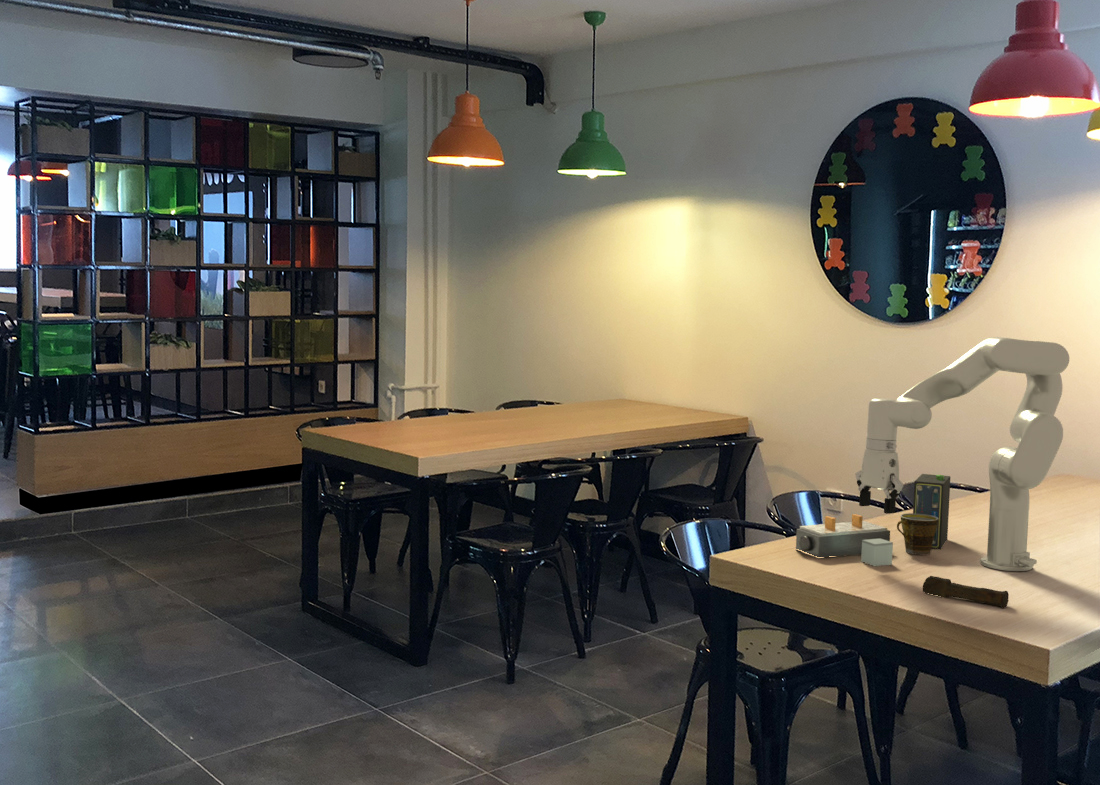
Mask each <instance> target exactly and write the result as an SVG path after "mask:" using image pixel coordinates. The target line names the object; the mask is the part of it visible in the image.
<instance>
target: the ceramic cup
mask: <svg viewBox="0 0 1100 785" xmlns="http://www.w3.org/2000/svg"><path fill="white" fill-rule="evenodd" d="M938 520H939V518H938V517H935V516H932V515H927V514H916V513H913V512H912V513H910V512H909V513H902V514H900V520H899V521H898V522H897V524H896V529H897V531H898V532H899V533H900V534H901V535H902V536H903V539H904V540H903V541H904V547H905V553H907V554H911V555H917V556H918V555H919V556H927V554H928V555H930V554H931V551H932V549H931V548H932V543H933V539H934V535H935V532H936V529H937V525H938ZM900 525H901V528H902V530H901V529H900Z"/></svg>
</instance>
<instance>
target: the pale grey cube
mask: <svg viewBox="0 0 1100 785" xmlns="http://www.w3.org/2000/svg"><path fill="white" fill-rule="evenodd" d="M893 546H894V542H893V541H891V540H890V541H887V540H884V539H880V538H879V539H868V540H862V554H861V556H860V558H861V559H860V560H861V561H862V562H861V561H860V562H861V563H863V562H865V563H864V564H866V563H868V564H870V565H869V566H871V565H873V566H872V567H882V566H889V565H890V566H891V565H893V551H894V550H893V548H894V547H893ZM868 564H867V565H868ZM881 565H882V566H881Z"/></svg>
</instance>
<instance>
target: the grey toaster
mask: <svg viewBox="0 0 1100 785" xmlns="http://www.w3.org/2000/svg"><path fill="white" fill-rule="evenodd" d="M795 538H796V540H795V541H796V542H795V550H796V549H799V550H802V551H804V552H807V553H809V554H812V555H814V556H817V557H829V556H841V557H845V556H844V555H852V556H859V555H861V554H862V540H868V539H879V538H880V539H884V540H887V541H890V542H891V530H888V527H886V526H885V527H884V526H882V525H879V524H875V523H872V522H868V521H865V520H863V515H860V514H856V513H853V514H851V521H848V522H837V520H836V518H835V517H833V516H824V524H823V523H820V524H809V525H799V528H797V529H796V536H795Z"/></svg>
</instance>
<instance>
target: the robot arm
mask: <svg viewBox="0 0 1100 785" xmlns="http://www.w3.org/2000/svg"><path fill="white" fill-rule="evenodd" d="M1069 363H1070V354H1069V351H1068V350H1067V348H1065V347H1064V346H1063V345H1062V344H1059V343H1057V342H1053V341H1052V342H1049V341H1041V340H1040V341H1039V340H1025V339H1016V338H1010V337H1001V336H1000V337H999V336H993V337H988V338H985V339H984V340H982V341H981V342H979V343H978V344H976V345H975V346H974V347H973V348H971V349H969V351H967V352H966V353H964V354H963V355H962V356H960V357H959V358H958V359H957V360H955V361H954V362H952V363H950V365H948V366H947V367H946V368H943V369H942V370H940V371H938V372H936V373H934V374H933V375H931V376H929V377H927V378H925V379H924V380H922V381H920V382H918V383H917V384H915V385H914V386H913V387H911V388H910V389H908V390H906V392H904V393H903V394H901V396H899V397H898V398H896V399H892V398H876V397H875V398H872V399H871V400H870V401H869V402H868V407H867V408H868V411H867V413H868V414H867V424H866V426H867V427H866V442H865V448H864V453H863V457H862V462H861V463H862V464H861V470H859V471H857V472H855V478H856V484H857V486H858V488H857V489H858V491H859V499H858V500H859V502H858V506H860V507H870V506H871V499H872V497H871V496H872V491H871V488H873V489H877V490H881V491H883V492H884V494H885V498H884V506H883V513H884V514H886V515H887V514H888V515H889V514H895V513H896V503H897V499H898V498H899V495H900V494H901V492H902V490H903V488H904V483H903V482H902V481H901V480H900V464H899V463H900V462H899V461H900V460H899V455H898V452H897V447H898V446H897V439H898V438H897V435H898V427H902V428H907V429H913V430H919V429H923V428H925V427H927V425H928V424H930V422H931V420H932V418H933V416H932V415H933V413H932V410H931V409H932V408H933V407H935V406H936V405H938V404H940V403H943V402H945V401H948V400H951V399H955V398H960V397H962V396H965V395H967V394H969V393H970V392H972V391H973V390H974V389H976V388H977V387H978V386H980V385H981V384H982V383H984V382H985V381H987V380H988V379H989V378H990V377H992V376H993V375H994V374H996V373H998V372H999V371H1002V372H1009V373H1016V374H1025V377H1026V387H1025V391H1024V393H1023V397H1022V399H1021V401H1020V403H1019V405H1018V406H1017V407H1018V408H1017V410H1016V412H1015V414H1014V416H1013V418H1012V420H1011V422H1010V425H1009V433H1010V436H1011V437H1012V439H1013V440H1014V441H1016V442H1017V443H1018V445H1017V447H1013V446H1003V447H1000V448H998V449H996V450H995V451H994V452H993V454H992V455H991V457H990V459H989V462H988V478H989V496H990V497H989V509H988V510H989V511H988V512H989V513H988V529H987V531H988V532H987V549H986V550H987V552H986V556H983V557H981V558H980V560H979V562H980V564H981V565H982V566H984V567H986V568H990V569H994V570H1000V571H1007V572H1028V571H1031V570H1032V569H1033V567H1034V566H1035V565H1037V563H1038V561H1037V559H1035V558H1031V556H1030V555H1031V552H1030V551H1028V535H1029V534H1028V533H1029V519H1030V518H1029V514H1030V513H1029V512H1030V490H1031V489H1035V488H1037V487H1038V486H1039V485H1041V483H1043V481H1044V480H1045V479H1046V476H1047V475H1048V473H1049V471H1050V469H1051V467H1052V464H1053V462H1054V460H1055V458H1056V456H1057V453H1058V451H1059V449H1060V447H1061V444H1062V442H1063V438H1064V428H1063V424H1062V423H1061V422H1062V421H1060V419H1058V417H1056V416H1055V414H1056V411H1057V409H1058V406H1059V404H1060V400H1061V398H1062V394H1063V381H1062V376H1061V374H1062V373H1063V372H1064V371H1065V370H1066V369H1067V368H1068V366H1069Z"/></svg>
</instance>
